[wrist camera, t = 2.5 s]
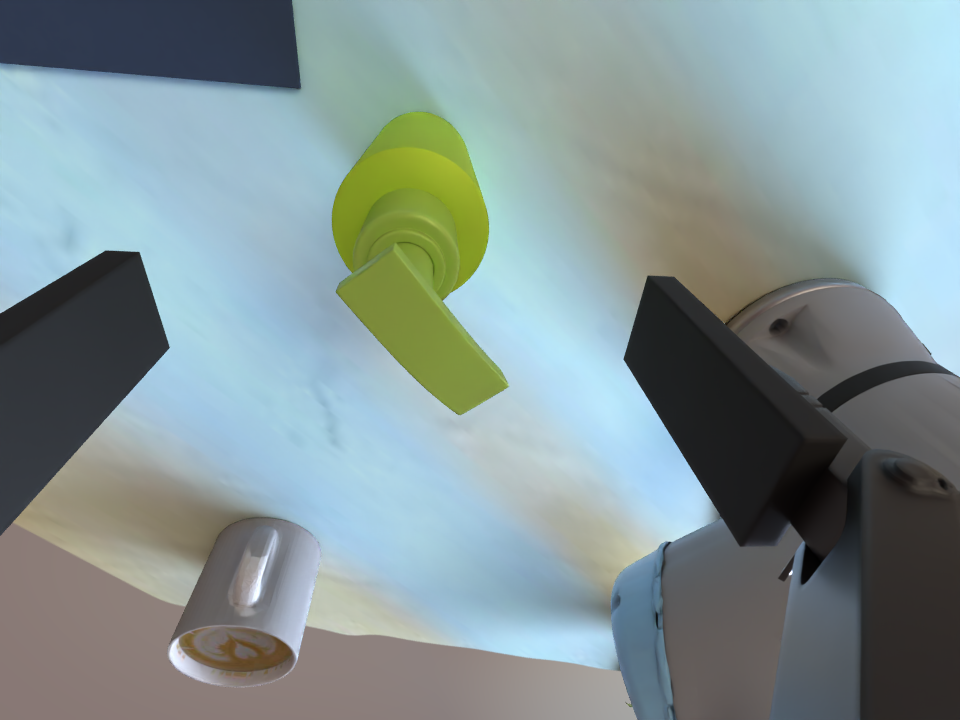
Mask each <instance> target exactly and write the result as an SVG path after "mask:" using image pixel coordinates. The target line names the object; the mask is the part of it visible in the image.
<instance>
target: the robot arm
mask: <svg viewBox="0 0 960 720" xmlns="http://www.w3.org/2000/svg"><path fill="white" fill-rule="evenodd" d="M169 348H170V347H169V344H168V341H167V338H166V334H165V331H164V328H163V325H162V322H161V319H160V315H159V312H158V309H157V306H156V303H155V300H154V296H153V293H152V290H151V287H150V284H149V281H148V278H147V274H146V271H145V268H144V265H143V262H142V259H141V255H140V252H127V251H104V252H103V253H101V254H99V255H98V256H96V257H94V258H92V259H91V260H89V261H87V262H86V263H84V264H82V265H81V266H79V267H77V268H76V269H74V270H72V271H71V272H69V273H67V274H66V275H64V276H62V277H61V278H59V279H57V280H56V281H54V282H52V283H51V284H49V285H47V286H46V287H44V288H42V289H41V290H39V291H37V292H36V293H34V294H32V295H31V296H29V297H27V298H26V299H24V300H22V301H21V302H19V303H17V304H16V305H14V306H12V307H11V308H9V309H7V310H6V311H4V312H2V313H1V314H0V535H2V533H3V532H4V531H5V530H6V529H7V528H8V527H9V526H10V525H11V523H12V522H13V521H14V520H15V519H16V518H17V517H18V516H19V515H20V513H21V512H22V511H23V510H24V509H25V508H26V507H27V506H28V505H29V503H30V502H31V501H32V500H33V499H34V498H35V497H36V496H37V495H38V493H39V492H40V491H41V490H42V489H43V488H44V487H45V486H46V485H47V483H48V482H49V481H50V480H51V479H52V478H53V477H54V476H55V475H56V473H57V472H58V471H59V470H60V469H61V468H62V467H63V466H64V465H65V463H66V462H67V461H68V460H69V459H70V458H71V457H72V456H73V455H74V453H75V452H76V451H77V450H78V449H79V448H80V447H81V446H82V445H83V443H84V442H85V441H86V440H87V439H88V438H89V437H90V436H91V435H92V434H93V432H94V431H95V430H96V429H97V428H98V427H99V426H100V425H101V424H102V422H103V421H104V420H105V419H106V418H107V417H108V416H109V415H110V414H111V412H112V411H113V410H114V409H115V408H116V407H117V406H118V405H119V404H120V402H121V401H122V400H123V399H124V398H125V397H126V396H127V395H128V394H129V392H130V391H131V390H132V389H133V388H134V387H135V386H136V385H137V384H138V382H139V381H140V380H141V379H142V378H143V377H144V376H145V375H146V374H147V372H148V371H149V370H150V369H151V368H152V367H153V366H154V365H155V364H156V362H157V361H158V360H159V359H160V358H161V357H162V356H163V355H164V354H165V352H166V351H167V350H168V349H169ZM624 361H625V362H626V364H627V366H628V367H629V369H630V370H631V372H632V374H633V375H634V377H635V379H636V380H637V382H638V383H639V385H640V387H641V388H642V390H643V391H644V393H645V395H646V396H647V398H648V400H649V401H650V403H651V404H652V406H653V408H654V409H655V411H656V412H657V414H658V416H659V417H660V419H661V420H662V422H663V424H664V425H665V427H666V429H667V430H668V432H669V433H670V435H671V437H672V438H673V440H674V441H675V443H676V445H677V446H678V448H679V449H680V451H681V453H682V454H683V456H684V458H685V459H686V461H687V462H688V464H689V466H690V467H691V469H692V470H693V472H694V474H695V475H696V477H697V478H698V480H699V482H700V483H701V485H702V487H703V488H704V490H705V491H706V493H707V495H708V496H709V498H710V499H711V501H712V503H713V504H714V506H715V508H716V509H717V511H718V512H719V514H720V516H721V517H722V518H721V519H719V520H717V521H715V522H713V523H711V524H708V525H706V526H704V527H702V528H700V529H698V530H696V531H694V532H692V533H690V534H688V535H686V536H684V537H682V538H680V539H678V540H676V541H674V542H664V543H662V544H661V545H660V546H659V548H658V550H656V551H654V552H652V553H651V554H649V555H647V556H645V557H643V558H642V559H640V560H638V561H636V562H635V563H633V564H631V565H629V566H628V567H626V568H625V569H624V570H623V571H622V572H621V573H620V574H619V575H618V577H617V579H616V581H615V583H614V586H613V590H612V596H611V615H612V619H611V621H612V630H613V637H614V643H615V648H616V653H617V657H618V661H619V665H620V669H621V673H622V676H623V680H624V683H625V686H626V689H627V692H628V695H629V698H630V701H631V704H632V706H633V709H634V712H635V714H636V717H637V719H638V720H960V377H958V376H957V375H955V374H953V373H952V372H950V371H949V370H947V369H945V368H944V367H942V366H940V365H939V364H937V363H936V362H935V361H934V359H933V358H932V357H931V353H930V352H929V350H928V349H927V348H926V347H925V346H924V344H923V343H921V342H920V340H919V339H918V338H917V337H916V335H915V334H914V333H913V331H912V330H911V329H910V328H909V326H908V325H907V324H906V323H905V321H904V320H903V319H902V317H901V316H900V314H899V313H898V312H897V310H896V309H895V308H894V307H893V306H892V305H890V304H889V303H888V302H887V301H886V300H885V299H884V298H882V297H881V296H880V295H878V294H876V293H874V292H872V291H870V290H869V289H867V288H865V287H863V286H861V285H859V284H857V283H854V282H851V281H847V280H843V279H833V278H823V279H813V280H808V281H803V282H799V283H795V284H792V285H789V286H786V287H783V288H781V289H779V290H776V291H774V292H772V293H770V294H768V295H766V296H764V297H762V298H761V299H759V300H757V301H756V302H754V303H753V304H751V305H750V306H748V307H747V308H746V309H744V310H743V311H742V312H741V313H739V314H738V315H737V316H736V317H735V318H734V319H732V320H731V321H730V322H729V323H728V324H727V325H725V324H724V323H723V322H722V321H721V320H720V319H719V318H718V317H717V316H716V315H714V314H713V313H712V312H711V311H710V310H709V309H708V308H707V307H706V306H705V305H704V304H703V303H702V302H700V301H699V300H698V299H697V298H696V297H695V296H694V295H693V294H692V293H691V292H690V291H689V290H688V289H686V288H685V287H684V286H683V285H682V284H681V283H680V282H679V281H678V280H677V279H676V278H675V277H667V276H647V280H646V283H645V287H644V290H643V294H642V297H641V301H640V304H639V308H638V311H637V314H636V318H635V321H634V325H633V328H632V332H631V335H630V339H629V342H628V346H627V349H626V352H625V356H624Z"/></svg>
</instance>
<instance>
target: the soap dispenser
mask: <svg viewBox="0 0 960 720" xmlns="http://www.w3.org/2000/svg"><path fill="white" fill-rule="evenodd" d="M332 230H333V236H334V240H335V243H336V246H337V249H338V251H339V254H340V256H341V258H342V259H343V261H344V263H345V264H346V266H347V267H348V269H349V270H350V271H351V272H352V274H351V275H350V276H348V277H347V278H345V279H344V280H343V281H341V282H340V283H339V285H338V287H337V290H336V293H337V294H338V296H339V297H340V298H341V299H342V300H343V301H344V302H345V303H346V305H347V306H348V307H349V308H350V309H351V310H352V311H353V313H354V314H355V315H356V316H357V317H358V318H359V319H360V320H361V322H362V323H363V324H364V325H365V326H366V327H367V328H368V329H369V331H370V332H371V333H372V334H373V335H374V336H375V337H376V338H377V339H378V341H379V342H380V343H381V344H382V345H383V346H384V347H385V348H386V349H387V350H388V352H389V353H390V354H391V355H392V356H393V357H394V358H395V359H396V360H397V361H398V362H399V363H400V364H401V365H402V366H403V367H404V368H405V369H406V370H407V371H408V372H409V373H410V374H411V375H412V376H413V377H414V378H415V379H416V380H417V381H418V382H419V383H420V384H421V385H422V386H423V387H424V388H425V389H426V390H428V391H429V392H430V393H431V394H432V395H433V396H435V397H436V398H437V399H438V400H439V401H441V402H442V403H443V404H444V405H446V406H447V407H448V408H449V409H451V410H452V411H453V412H455V413H456V414H458V415H462V414H464V413H466V412H467V411H469V410H471V409H472V408H474V407H476V406H478V405H479V404H481V403H483V402H484V401H486V400H488V399H489V398H491V397H493V396H494V395H496V394H498V393H499V392H501V391H503V390H504V389H506V388H508V387H509V384H508V382H507V380H506V379H505V377H504V375H503V373H502V371H501V370H500V369H499V367H498V366H497V365H496V364H495V363H494V362H493V361H492V360H491V359H490V358H489V357H488V356H487V355H486V353H485V352H484V351H483V350H482V349H481V348H480V347H479V345H478V344H477V343H476V342H475V341H474V340H473V338H472V337H471V336H470V335H469V334H468V332H467V331H466V330H465V329H464V328H463V326H462V325H461V324H460V323H459V321H458V320H457V319H456V318H455V316H454V315H453V314H452V313H451V311H450V310H449V309H448V308H447V306H446V305H445V304H444V303H443V300H444V299H445V298H446V297H447V296H448V295H449V293H451V292H453V291H455V290H456V289H458V288H459V287H460V286H462V285H463V284H464V283H465V282H466V281H467V280H468V279H469V278H470V277H471V276H472V275H473V274H474V272H475V271H476V269H477V268H478V266H479V265H480V263H481V261H482V259H483V256H484V254H485V251H486V247H487V243H488V236H489V221H488V214H487V209H486V206H485V203H484V200H483V196H482V193H481V190H480V187H479V184H478V181H477V178H476V175H475V172H474V169H473V166H472V163H471V160H470V157H469V154H468V151H467V148H466V145H465V143H464V141H463V139H462V137H461V136H460V134H459V133H458V131H457V130H456V129H455V128H454V127H453V126H452V125H451V124H450V123H449V122H447V121H446V120H444V119H443V118H441V117H439V116H437V115H434V114H431V113H427V112H410V113H406V114H403V115H400V116H398V117H396V118H394V119H393V120H391V121H390V122H389V123H388V124H387V125H386V126H385V127H384V128H383V129H382V131H381V132H380V133H379V134H378V136H377V137H376V138H375V140H374V141H373V142H372V144H371V145H370V146H369V147H368V149H367V150H366V151H365V153H364V154H363V155H362V156H361V158H360V159H359V160H358V162H357V163H356V164H355V165H354V167H353V168H352V169H351V171H350V172H349V173H348V175H347V176H346V177H345V179H344V180H343V182H342V183H341V185H340V187H339V189H338V192H337V194H336V197H335V200H334V205H333V210H332Z"/></svg>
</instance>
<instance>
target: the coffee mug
mask: <svg viewBox="0 0 960 720" xmlns="http://www.w3.org/2000/svg"><path fill="white" fill-rule="evenodd" d="M321 554H322V552H321V548H320V544H319V542H318V541H317V540H316V538H315V537H314V536H313V535H312V534H311V533H309V532H308V531H307V530H305V529H304V528H302V527H300V526H298V525H296V524H293V523H291V522H288V521H284V520H279V519H273V518H251V519H246V520H242V521H239V522H236V523H234V524H232V525H230V526H228V527H227V528H225V529H224V530H223V531H222V532H221V533H220V534H219V536H218V538H217V540H216V542H215V545H214V547H213V549H212V551H211V553H210V555H209V558H208V560H207V562H206V564H205V566H204V569H203V571H202V573H201V575H200V577H199V579H198V582H197V584H196V586H195V588H194V590H193V593H192V595H191V597H190V599H189V601H188V604H187V606H186V608H185V610H184V612H183V614H182V617H181V619H180V621H179V623H178V626H177V628H176V630H175V632H174V634H173V637H172V639H171V641H170V643H169V646H168V650H167V655H168V658H169V661H170V663H171V664H172V665H173V666H174V667H175V668H176V669H177V670H178V671H179V672H181V673H183V674H184V675H186V676H188V677H190V678H192V679H195V680H197V681H200V682H204V683H208V684H213V685H218V686H226V687H251V686H258V685H264V684H268V683H271V682H274V681H277V680H279V679H281V678H283V677H285V676H286V675H287V674H289V673H290V672H291V671H292V670H293V668H294V667H295V665H296V662H297V659H298V655H299V651H300V646H301V642H302V638H303V633H304V629H305V625H306V620H307V616H308V612H309V607H310V603H311V599H312V595H313V590H314V586H315V582H316V577H317V573H318V569H319V564H320V560H321Z"/></svg>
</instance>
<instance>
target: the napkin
mask: <svg viewBox="0 0 960 720" xmlns="http://www.w3.org/2000/svg"><path fill="white" fill-rule="evenodd" d="M0 63H7V64H19V65H31V66H42V67H54V68H66V69H77V70H89V71H101V72H112V73H124V74H136V75H147V76H159V77H171V78H182V79H194V80H206V81H217V82H229V83H241V84H252V85H264V86H276V87H287V88H301V84H300V74H299V65H298V55H297V46H296V36H295V27H294V17H293V7H292V0H0Z"/></svg>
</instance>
